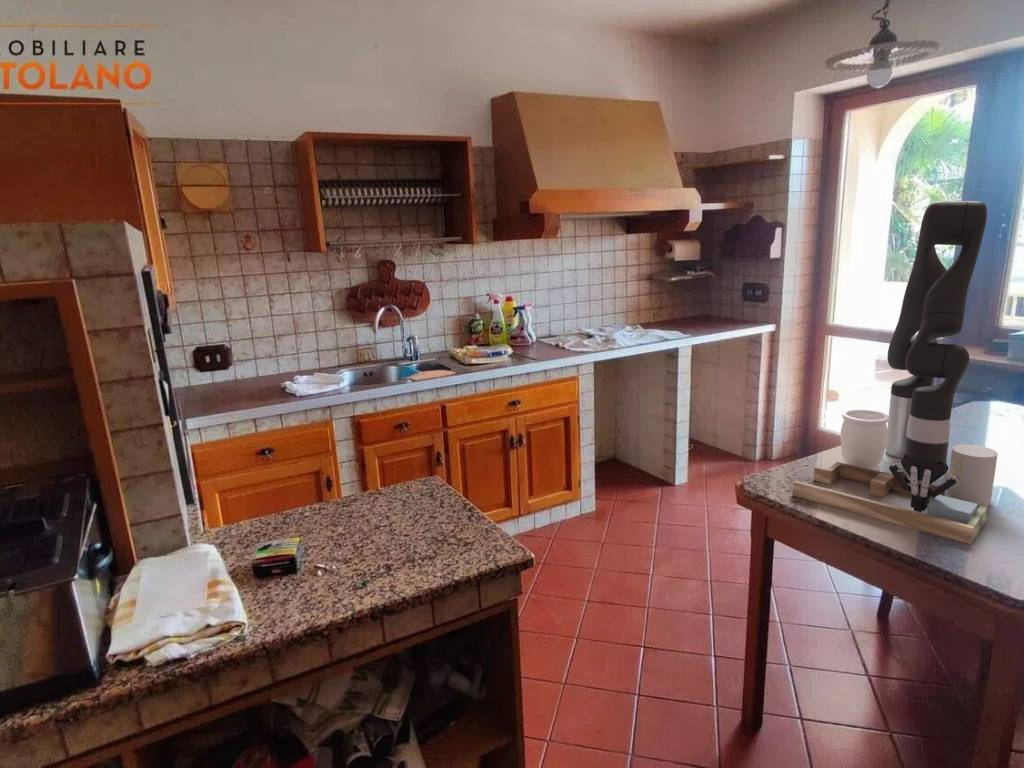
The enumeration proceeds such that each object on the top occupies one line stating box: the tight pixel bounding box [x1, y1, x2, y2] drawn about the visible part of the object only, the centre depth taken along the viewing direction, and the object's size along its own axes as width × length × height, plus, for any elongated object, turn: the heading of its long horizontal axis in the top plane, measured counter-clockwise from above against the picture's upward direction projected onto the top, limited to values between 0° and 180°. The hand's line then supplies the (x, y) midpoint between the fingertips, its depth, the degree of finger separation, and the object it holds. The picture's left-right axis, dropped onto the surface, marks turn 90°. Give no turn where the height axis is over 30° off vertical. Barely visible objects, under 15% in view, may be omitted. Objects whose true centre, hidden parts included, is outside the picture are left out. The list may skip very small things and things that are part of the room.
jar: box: [839, 409, 889, 472], centre depth 155 cm, size 11×10×15 cm
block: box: [928, 495, 978, 524], centre depth 125 cm, size 6×7×5 cm
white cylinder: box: [945, 443, 998, 507], centre depth 135 cm, size 8×8×12 cm
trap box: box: [792, 461, 989, 545], centre depth 137 cm, size 19×35×4 cm, turn 41°
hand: (918, 510), depth 130 cm, fingers closed
